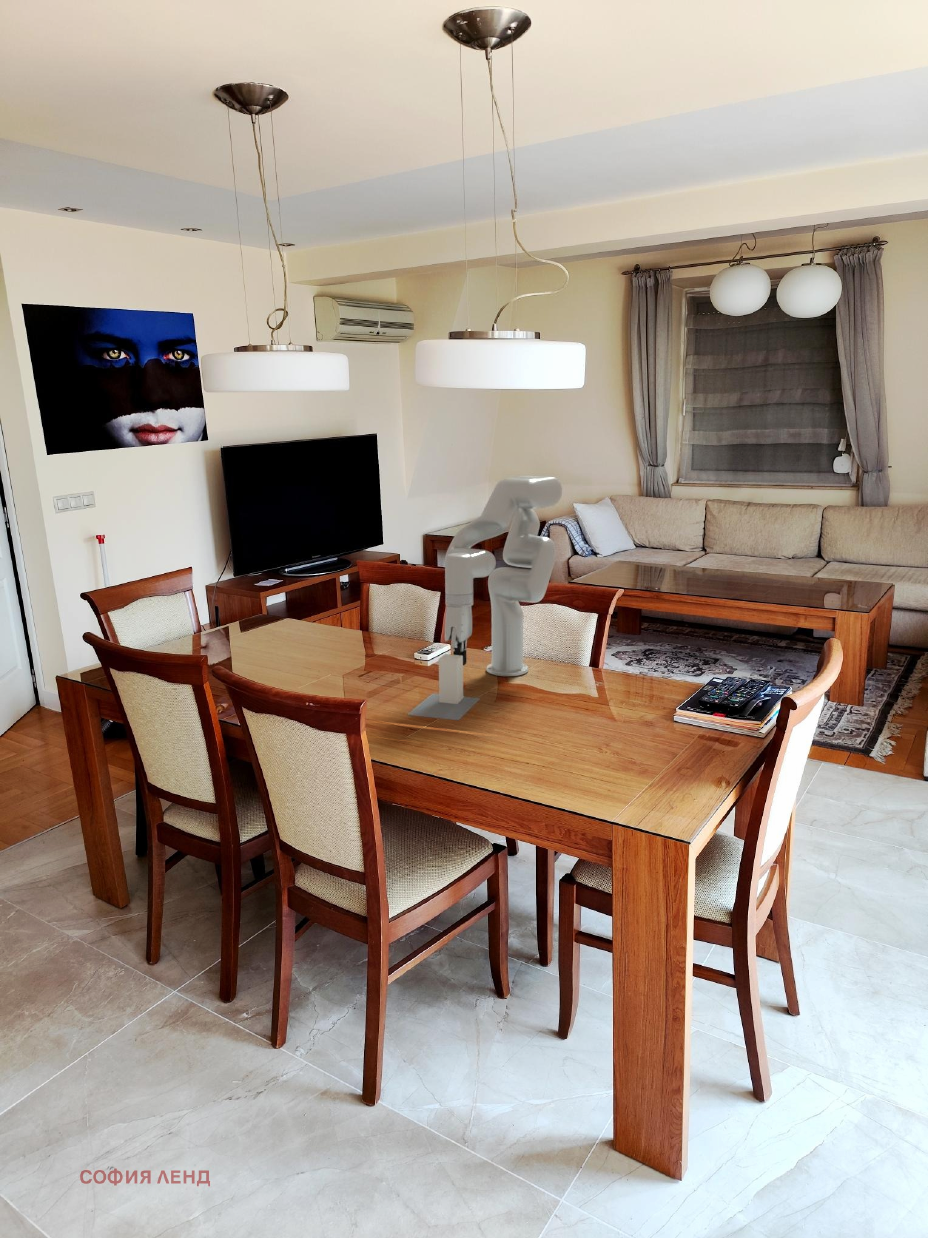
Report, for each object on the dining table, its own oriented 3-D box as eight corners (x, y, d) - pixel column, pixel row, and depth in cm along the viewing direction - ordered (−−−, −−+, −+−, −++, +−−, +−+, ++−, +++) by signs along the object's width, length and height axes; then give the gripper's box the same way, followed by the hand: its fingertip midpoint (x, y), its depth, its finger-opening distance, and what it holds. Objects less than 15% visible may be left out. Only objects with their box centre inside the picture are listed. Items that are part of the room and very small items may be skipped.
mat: (432, 695, 234) (432, 693, 234) (480, 700, 230) (480, 698, 229) (407, 716, 218) (407, 714, 217) (458, 722, 213) (458, 720, 213)
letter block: (446, 696, 231) (445, 654, 228) (463, 698, 230) (462, 655, 227) (439, 702, 226) (438, 659, 224) (457, 704, 225) (456, 660, 222)
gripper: (455, 592, 237) (456, 656, 241) (436, 603, 223) (437, 670, 227) (481, 594, 234) (481, 658, 238) (463, 605, 221) (463, 673, 225)
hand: (460, 664), depth 233 cm, fingers closed
